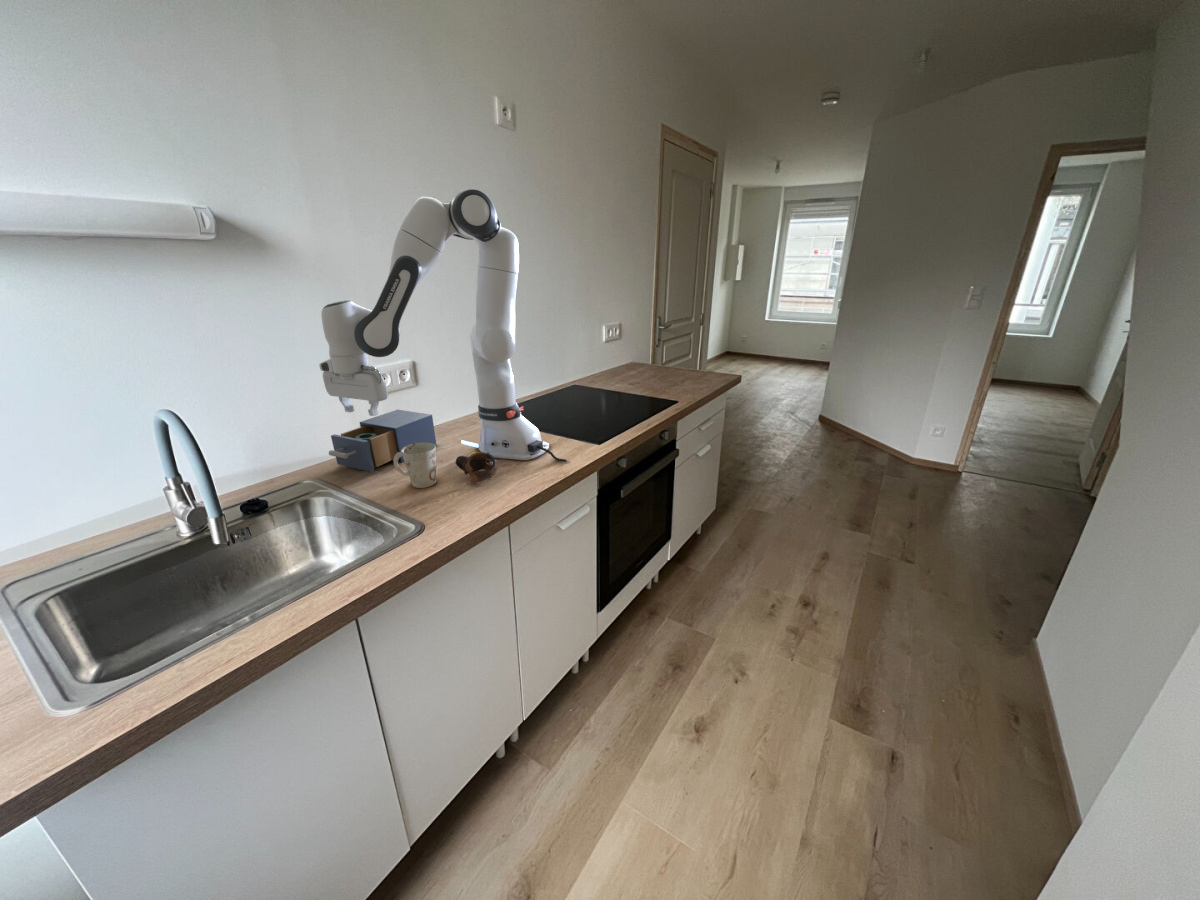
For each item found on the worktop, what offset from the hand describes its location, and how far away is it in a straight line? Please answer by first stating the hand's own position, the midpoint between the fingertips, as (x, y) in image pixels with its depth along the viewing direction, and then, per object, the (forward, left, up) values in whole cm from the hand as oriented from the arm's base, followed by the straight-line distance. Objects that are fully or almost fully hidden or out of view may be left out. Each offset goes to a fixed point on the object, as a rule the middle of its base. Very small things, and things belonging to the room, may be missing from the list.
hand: (361, 413), depth 127 cm
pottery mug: (-35, -5, -16) cm, 38 cm away
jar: (0, 0, -13) cm, 13 cm away
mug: (-22, +4, -16) cm, 27 cm away
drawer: (0, +1, -14) cm, 15 cm away
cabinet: (0, -12, -15) cm, 19 cm away
